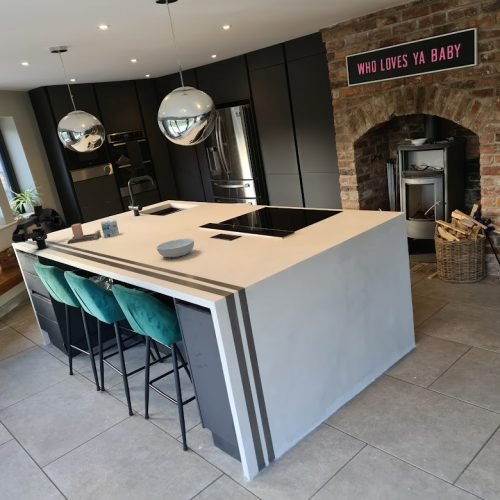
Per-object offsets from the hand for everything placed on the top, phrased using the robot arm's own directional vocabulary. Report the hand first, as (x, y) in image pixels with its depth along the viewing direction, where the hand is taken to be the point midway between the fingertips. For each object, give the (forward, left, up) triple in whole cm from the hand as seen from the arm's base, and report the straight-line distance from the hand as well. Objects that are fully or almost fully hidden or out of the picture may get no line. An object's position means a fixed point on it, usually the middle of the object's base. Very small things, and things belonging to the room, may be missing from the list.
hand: (55, 219), depth 352 cm
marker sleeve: (-16, -19, -13) cm, 28 cm away
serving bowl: (-96, -97, -15) cm, 138 cm away
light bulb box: (-16, -42, -15) cm, 48 cm away
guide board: (-16, -23, -15) cm, 32 cm away
